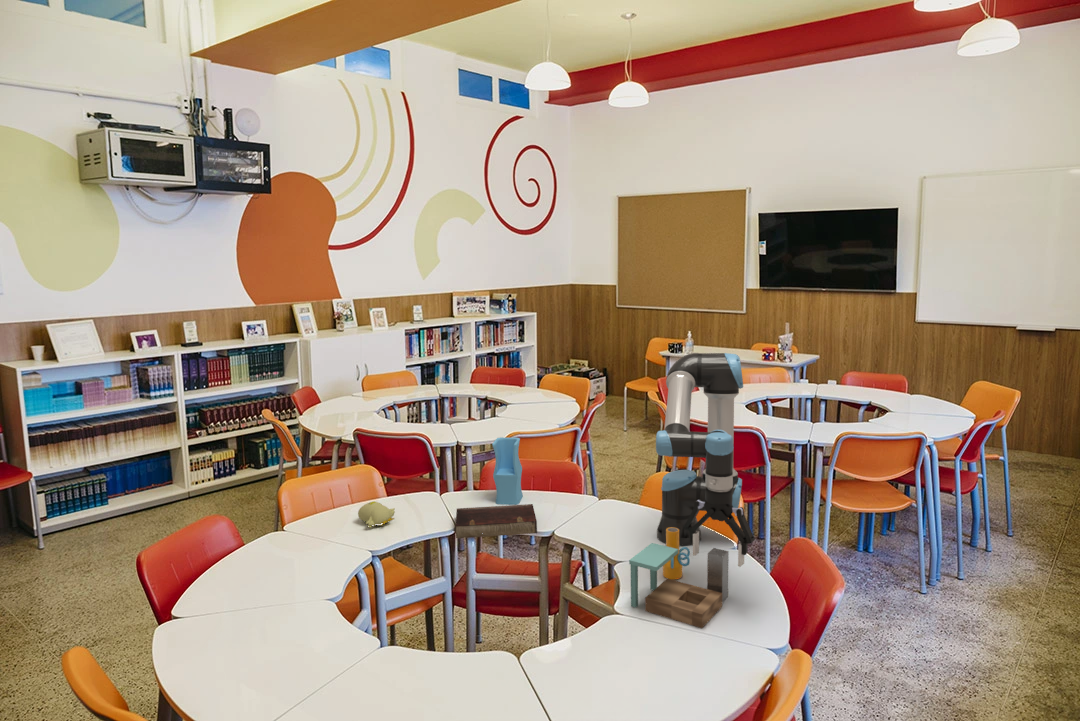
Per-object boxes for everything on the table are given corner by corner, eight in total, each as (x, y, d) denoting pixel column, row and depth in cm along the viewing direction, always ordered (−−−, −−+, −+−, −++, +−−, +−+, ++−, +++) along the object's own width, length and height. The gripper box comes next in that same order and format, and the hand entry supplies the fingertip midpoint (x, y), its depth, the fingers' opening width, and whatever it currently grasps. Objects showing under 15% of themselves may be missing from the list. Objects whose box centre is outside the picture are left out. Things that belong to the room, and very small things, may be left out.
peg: (713, 592, 213) (713, 547, 210) (728, 596, 210) (728, 551, 208) (707, 599, 209) (707, 553, 207) (722, 603, 206) (722, 557, 204)
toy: (373, 517, 263) (345, 502, 270) (373, 538, 265) (345, 523, 273) (402, 502, 274) (375, 488, 282) (402, 522, 277) (374, 508, 285)
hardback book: (532, 515, 279) (532, 502, 278) (537, 534, 260) (536, 521, 259) (457, 519, 276) (456, 507, 275) (456, 539, 258) (455, 526, 257)
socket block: (667, 591, 214) (667, 578, 214) (722, 606, 205) (722, 593, 204) (645, 611, 203) (645, 597, 203) (702, 628, 193) (702, 614, 193)
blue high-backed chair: (494, 504, 290) (491, 443, 286) (499, 495, 300) (497, 437, 296) (518, 504, 289) (516, 444, 285) (523, 496, 298) (521, 437, 294)
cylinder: (689, 585, 217) (690, 538, 215) (654, 583, 219) (654, 536, 217) (689, 568, 229) (690, 523, 227) (656, 566, 231) (656, 521, 229)
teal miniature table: (652, 586, 217) (652, 542, 215) (678, 594, 212) (678, 549, 210) (629, 606, 206) (629, 560, 204) (656, 614, 201) (656, 567, 199)
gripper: (672, 484, 208) (672, 554, 212) (757, 499, 194) (756, 574, 197) (683, 477, 214) (683, 545, 218) (767, 491, 200) (765, 564, 203)
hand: (718, 559), depth 207 cm, fingers open, 13 cm apart
